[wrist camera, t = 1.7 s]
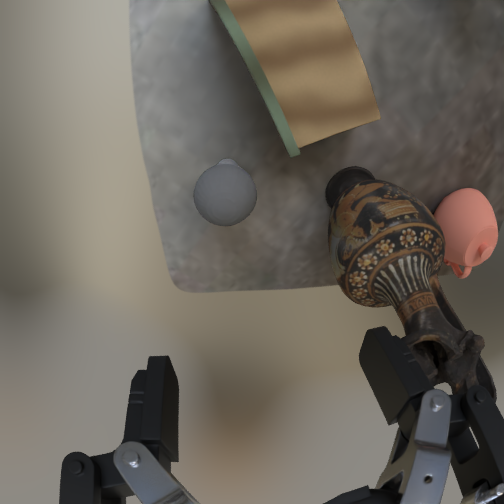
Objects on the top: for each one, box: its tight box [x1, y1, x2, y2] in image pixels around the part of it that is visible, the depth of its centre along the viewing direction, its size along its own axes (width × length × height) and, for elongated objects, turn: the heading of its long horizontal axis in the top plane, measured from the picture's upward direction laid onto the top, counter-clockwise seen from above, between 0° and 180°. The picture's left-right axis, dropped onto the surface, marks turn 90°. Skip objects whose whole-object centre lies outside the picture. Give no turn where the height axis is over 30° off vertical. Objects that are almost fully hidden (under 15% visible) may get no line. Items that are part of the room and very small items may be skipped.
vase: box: [326, 166, 497, 403], centre depth 24 cm, size 12×12×30 cm
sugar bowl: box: [433, 188, 498, 279], centre depth 34 cm, size 12×14×10 cm
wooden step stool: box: [209, 0, 381, 158], centre depth 21 cm, size 18×10×8 cm, turn 25°
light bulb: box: [194, 159, 257, 226], centre depth 29 cm, size 6×6×10 cm
